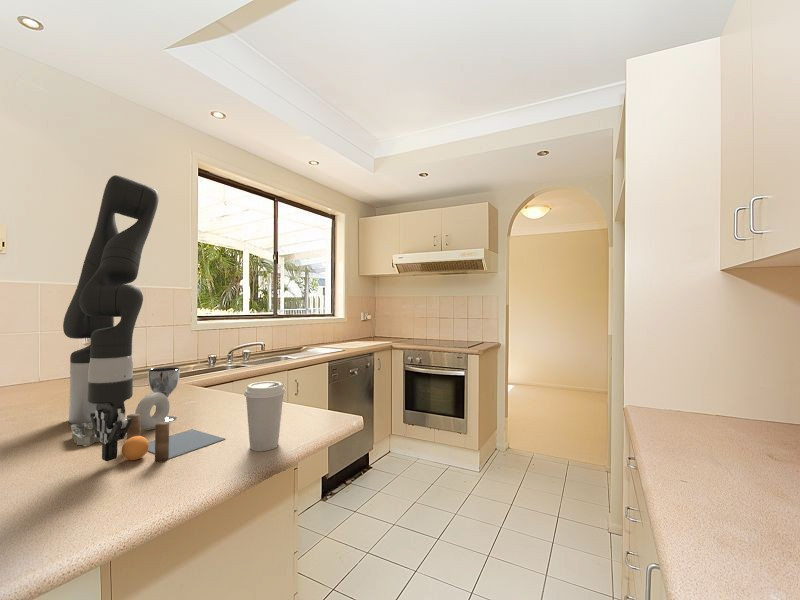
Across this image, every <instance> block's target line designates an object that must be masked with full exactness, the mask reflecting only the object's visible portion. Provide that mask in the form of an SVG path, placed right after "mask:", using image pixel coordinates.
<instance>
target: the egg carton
mask: <svg viewBox="0 0 800 600" xmlns="http://www.w3.org/2000/svg"><path fill="white" fill-rule="evenodd" d="M70 429H71V439H72V440H73V441H74V443H75V442H77V443H76V446H77V445H88V446H91V445H92V444H94V443H93V442H96V443H100V442H99V441H100V438H97V437H96V434H95V430H94V427H93V424H92V423H85V424H83V423H82V424H71V428H70ZM91 443H92V444H91Z"/></svg>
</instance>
